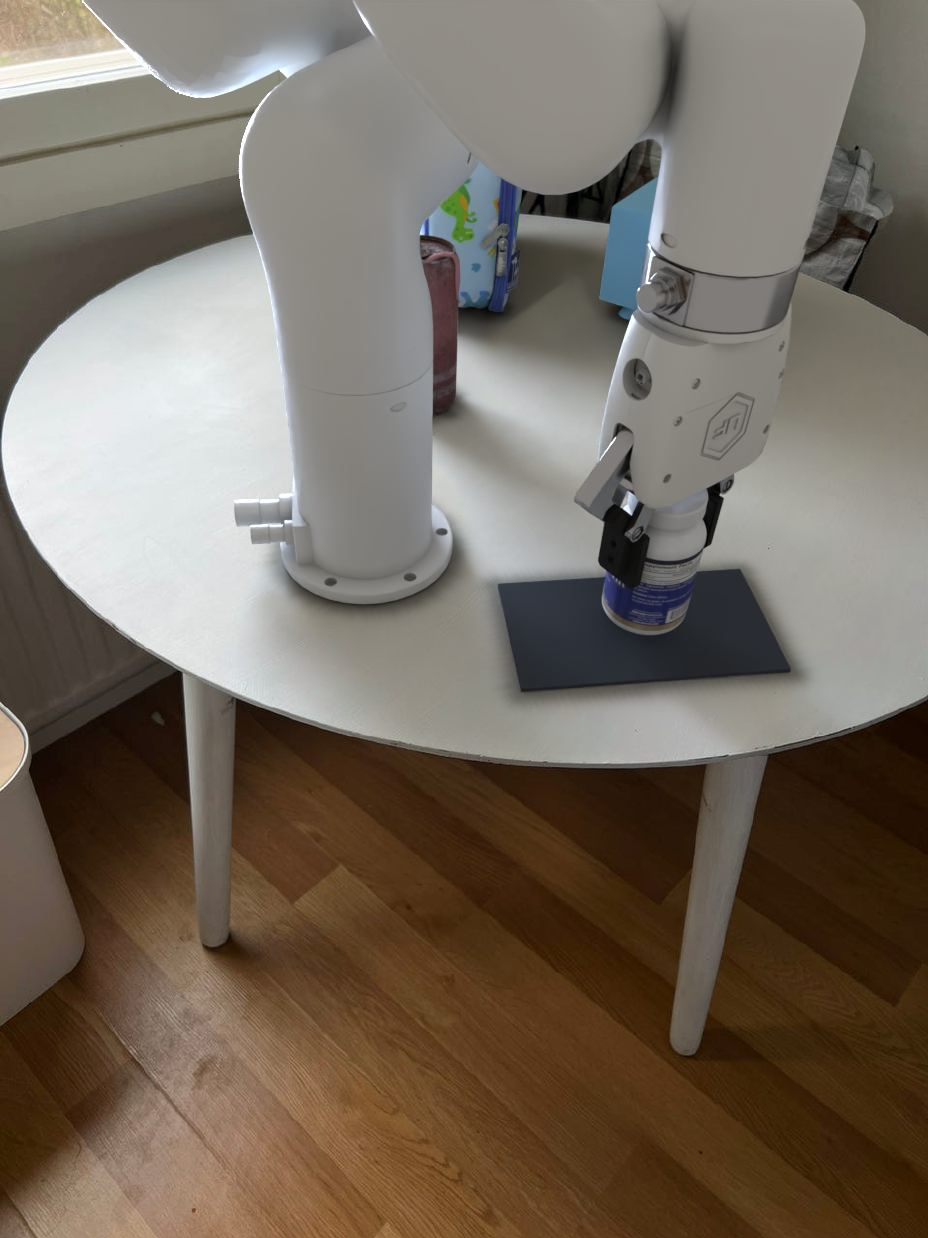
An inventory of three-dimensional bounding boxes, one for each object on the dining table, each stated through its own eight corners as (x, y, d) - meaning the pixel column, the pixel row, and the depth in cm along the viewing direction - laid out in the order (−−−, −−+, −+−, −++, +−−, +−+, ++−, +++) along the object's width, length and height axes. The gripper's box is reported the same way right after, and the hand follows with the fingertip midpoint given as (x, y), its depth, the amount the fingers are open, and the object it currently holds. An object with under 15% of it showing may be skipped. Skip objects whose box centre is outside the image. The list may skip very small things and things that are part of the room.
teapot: (585, 322, 95) (602, 192, 86) (650, 271, 104) (671, 149, 95) (751, 376, 88) (789, 241, 79) (804, 315, 97) (843, 188, 88)
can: (450, 424, 80) (454, 267, 70) (380, 414, 81) (374, 258, 71) (464, 389, 84) (469, 236, 75) (397, 380, 85) (394, 228, 75)
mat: (521, 692, 58) (521, 689, 58) (497, 586, 65) (497, 583, 65) (790, 672, 60) (791, 668, 60) (739, 571, 67) (740, 568, 67)
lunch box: (521, 329, 93) (540, 101, 78) (415, 332, 92) (414, 100, 77) (488, 227, 111) (498, 26, 97) (399, 228, 110) (396, 25, 96)
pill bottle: (597, 579, 64) (618, 460, 57) (678, 582, 64) (709, 463, 57) (604, 637, 60) (627, 517, 53) (691, 640, 60) (726, 520, 53)
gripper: (651, 361, 40) (597, 647, 53) (880, 267, 48) (786, 535, 61) (538, 297, 44) (514, 576, 57) (766, 220, 52) (700, 481, 65)
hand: (654, 553), depth 59 cm, fingers closed on pill bottle, 5 cm apart
